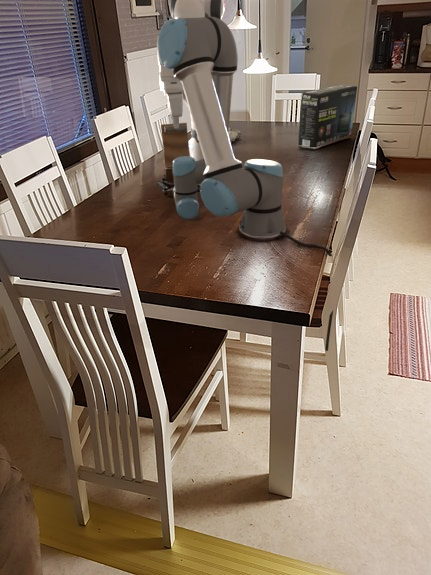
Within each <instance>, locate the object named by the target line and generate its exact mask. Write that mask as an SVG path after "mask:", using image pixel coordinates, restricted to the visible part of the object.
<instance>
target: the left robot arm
mask: <svg viewBox="0 0 431 575" xmlns="http://www.w3.org/2000/svg"><path fill="white" fill-rule="evenodd" d="M169 13H170V17H171V19H178V18H201V17H216V18H218V19H220V20H223V16H224V14H225V2H224V0H170V2H169ZM158 38H159V34H158V35H157V40H156V56H157V58H156V59H157V64H158V68H159V71H158V72H159V73H158V80H159V90H160V92H163V95H164V97H166V104H167V105H166V107H167V110H168V112H169V114H170V117H171V124H173V126H174V128H175V129H176V128H179V123H180V118H181V117H183V111H184V104H185V105H186V106H187V109H188V111H189V115H190V123H191V124H190V125H191V128H190V136H191V138H190V139H188V142H189V151H190V157H193V158H194V159H195V161H197V160H201V159H204V157H203V154H202V150H201V147H200V143H199V140H198V136H197V133H196V130H195V126H194V123H193V119H192V116H191V113H190V109H189V106H188V102H187V99H186V96H185V92H184V89H183V85H182V83H181V82H180V81H179V80H177V79H175V77H174V74H173V71H172V69H168V68H166V67H165V66H164V65H163V64H162V63H161V61H160V58H159V53H158Z"/></svg>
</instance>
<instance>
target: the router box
mask: <svg viewBox="0 0 431 575" xmlns="http://www.w3.org/2000/svg"><path fill="white" fill-rule="evenodd" d="M357 93H358V86H356V85H350V84H339V85H338V84H337V85H334V86H328V87H324V88H318V89H314V90H309V91H304V92H301V93H300V109H299V110H300V111H299V124H298V137H297V146H298V145H302V146H307V147H317V146H320V145H323V144H325V143H328V142H331V141H333V140H336V139H338V138H341V137H344V136H347V135H351V136H352V133H353V132H352V131H353V125H354V115H355V109H356V99H357ZM311 151H313V150H312V149H311Z"/></svg>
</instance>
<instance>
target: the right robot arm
mask: <svg viewBox="0 0 431 575" xmlns="http://www.w3.org/2000/svg"><path fill="white" fill-rule="evenodd" d="M158 35H159V38H158V37H157V39H158V53H159V58H160V61H161V63H162V64H163V65H164V66H165V67H166V68H168V69H172V71H173V74H174V77H175V79H177V80H179V81H180V82H181V83H182V85H183V89H184V92H185V96H186V99H187V102H188V106H189V109H190V111H189V114H190V113H191V116H192V119H193V123H194V126H195V130H196V133H197V136H198V140H199V143H200V147H201V150H202V154H203V157H204V159H201V160H197V161H195V159H194V158H193V157H190V156H184V157H178V158H176V159H174V161H173V177H174V183H170V182H168V181H167V178H166V174H165V175H164V174H163V178H161V180H158V181H157V188H158V190H160V191H161V192H162V193H163V196H168V194H169V193H172V194H173V196H172V197H173V200H174V204H175V209H176V212H177V215H178V216H179V217H180V218H181V219H183V220H186V221H191V220H194V219H195V218H197V217H198V215H199V213H200V203H199V199H198V193H200V198H201V200H202V203H203V205H204V206H205V208H206V209H207V210H208V212H210V213H211V214H212V215H214V216H216V217H219V218H224V217H227V216H233V215H235V214H237V213H240V212H242V211H243V213H242V216H241V220H240V221H239V223H238V225H239V226H238V232H239V235H240V236H241V237H242V238H244V239H247V240H250V241H254V242H271V241H277V240H279V239H281V238H283V237H285V238H286V239H288V240H290V241H292V242H293V243H295V244H297V245H298V246H299V245H300V246H301V247H307V248H316V249H320V250H323V251H324V252H325V253H326V254H327V256H329V257H333V254H332V252H331V251H330V250H329V249H328V248H327V247H326V246H323V245H318V244H314V243H304V242H302V241H300V240H298V239H296V238H294V237H293V236H291V235H289V234H288V233H287V223H286V221H285V216H284V214H283V210H282V200H283V183H284V174H283V173H284V172H283V171H284V169H283V166H282V164H281V163H280V162H278V161H274V160H270V159H261V158H252V159H247V160H246V161H245V162H244V165H243V162H242V161H241V160H239V159H236V158H235V157H236V156H235V154H234V150H233V147H232V143H230V139H229V136H228V133H229V128H230V120H231V118H230V117H231V109H232V108H231V107H232V94H233V80H234V74H235V73H236V72H237V71H238V62H239V61H238V60H239V58H238V57H239V56H238V47H237V43H236V39H235V36H234V34H233V32H232V30H231V28H230V27H229V26H228V24H227V23H226V22H224V21H223V19H221V20H220V19H218V18H216V17H201V18H178V19H173V18H171V19H168V20H167V21H165V22H164V23H163V25H162V26H161V28H160V30H159V34H158ZM189 109H188V110H189ZM191 116H190V117H191ZM333 315H334V310H332V311H331V313H330V314H329V315H328V316H329V317H328V324H327V331H326V340H325V352H328V351H329V345H330V337H331V329H332V321H333V317H334V316H333Z"/></svg>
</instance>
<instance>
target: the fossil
mask: <svg viewBox="0 0 431 575" xmlns="http://www.w3.org/2000/svg"><path fill="white" fill-rule="evenodd" d="M239 135H241V136H242V133H241V131H240V130H239V129H232V128H231V127H229V133H228V136H229V139H230V143H231V144H233V142H235V141H236V140H237V139H238V138H239V137H238V136H239ZM235 139H236V140H235ZM232 141H233V142H232Z"/></svg>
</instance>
